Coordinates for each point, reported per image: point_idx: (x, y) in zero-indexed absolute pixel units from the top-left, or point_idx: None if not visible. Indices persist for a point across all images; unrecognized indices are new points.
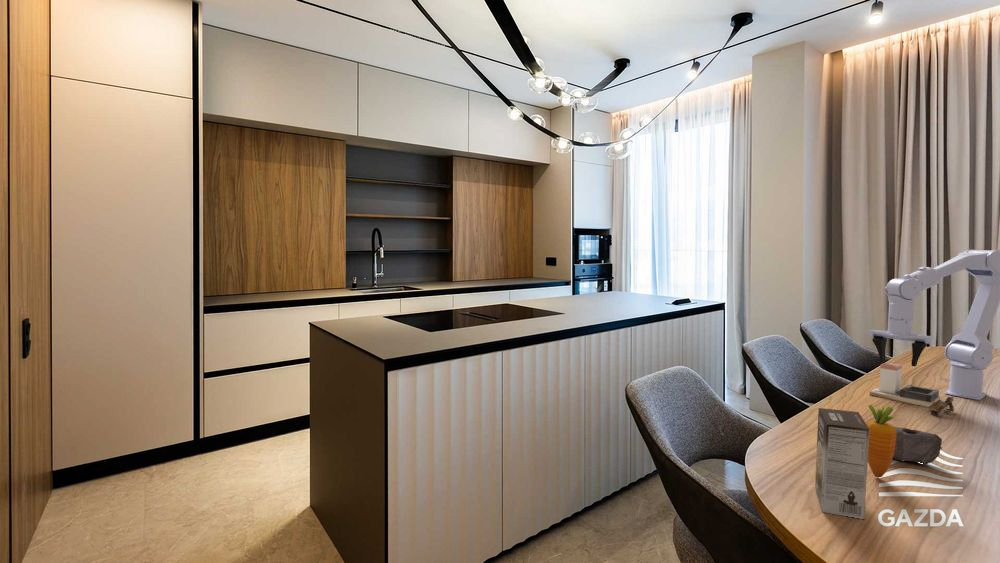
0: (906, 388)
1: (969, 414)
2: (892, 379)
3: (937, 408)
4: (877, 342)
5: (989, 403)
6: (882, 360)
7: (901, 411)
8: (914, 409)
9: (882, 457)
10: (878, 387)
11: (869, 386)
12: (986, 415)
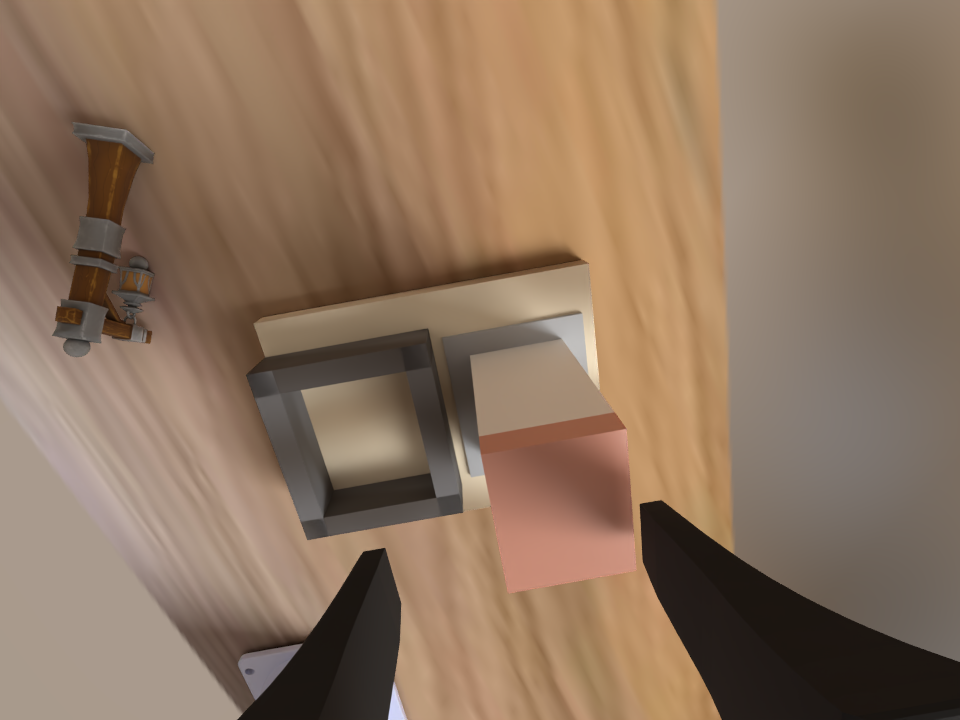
0: (424, 417)
1: (90, 375)
2: (498, 391)
3: (103, 180)
4: (870, 668)
5: (199, 647)
6: (645, 507)
7: (269, 25)
8: (266, 176)
9: None
10: None
11: (661, 456)
12: (52, 436)
